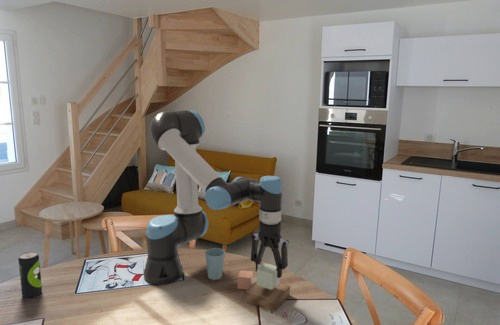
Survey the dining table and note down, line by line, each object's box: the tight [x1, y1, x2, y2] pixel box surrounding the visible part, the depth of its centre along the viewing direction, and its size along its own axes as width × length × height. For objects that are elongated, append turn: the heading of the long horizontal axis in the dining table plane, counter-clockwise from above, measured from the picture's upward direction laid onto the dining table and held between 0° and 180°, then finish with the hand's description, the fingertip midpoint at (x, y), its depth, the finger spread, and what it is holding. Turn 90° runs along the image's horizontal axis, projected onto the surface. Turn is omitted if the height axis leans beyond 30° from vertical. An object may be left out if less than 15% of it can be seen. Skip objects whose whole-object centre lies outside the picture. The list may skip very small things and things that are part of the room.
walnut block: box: [244, 280, 291, 312], centre depth 134 cm, size 12×12×4 cm
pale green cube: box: [256, 262, 277, 290], centre depth 133 cm, size 6×6×6 cm
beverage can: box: [18, 250, 43, 299], centre depth 132 cm, size 6×6×15 cm
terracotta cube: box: [237, 269, 254, 291], centre depth 142 cm, size 5×5×5 cm
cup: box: [205, 247, 226, 281], centre depth 148 cm, size 8×8×10 cm
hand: (268, 282), depth 133 cm, fingers closed on pale green cube, 6 cm apart
